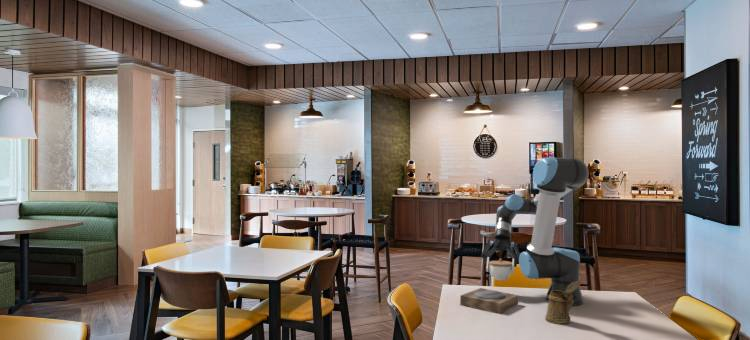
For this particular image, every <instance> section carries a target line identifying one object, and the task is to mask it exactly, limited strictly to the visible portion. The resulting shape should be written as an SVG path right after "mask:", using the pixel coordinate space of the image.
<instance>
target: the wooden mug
mask: <svg viewBox="0 0 750 340" xmlns="http://www.w3.org/2000/svg"><path fill="white" fill-rule="evenodd" d="M580 283H581V281H580V279H579V280H578V279H577V280H575V281H573V282H572V283H570V284H569V285H568V286H567V287H566V289H565V291H566V292H564V291H559V290H551V292H550V295H549V301H548V303H547V304H548V305H547V310H546V315H545V316H544V317H545V318H544V319H545V321H547V322H548V323H552V324H556V325H568V324H570V322H571V317H570V311H571V309H572V308H573V306H574V305H573V296H572V292H573V291H575V290H576V289H577V288H578V286H579V287H580V285H581V284H580ZM568 301H569V304H568Z"/></svg>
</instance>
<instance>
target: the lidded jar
mask: <svg viewBox="0 0 750 340" xmlns="http://www.w3.org/2000/svg"><path fill="white" fill-rule="evenodd" d="M488 273H489V274H490V276H491V277H492V278H493V280H496V281H507V280H508V279H509V277H511V274H512V261H508V260H502V258H499V259H498V260H497V259H495V260H489V269H488Z"/></svg>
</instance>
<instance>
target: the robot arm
mask: <svg viewBox="0 0 750 340" xmlns="http://www.w3.org/2000/svg"><path fill="white" fill-rule="evenodd" d="M589 176H590V175H589V168H588V166H587V165H586V163H585V162H584V161H582V160H581V159H579V158H576V157H554V156H550V157H541V159H539V160H538V161H537V162H536V163H535V165H534V167H533V171H532V177H533V178H532V180H533V182H534V183H535V184H536V188H537V190H539V191H538V194H537V195H535V196H534V197H533V198H523V197H522V196H521V195H518V194H516V193H513V194H510V195H509V196H508V198H507V199H506V200H505V202H504V204H503V205H500V206H498V208H497V210H496V217H495V229H494V230H495V231H494V239H493V240H491V239H487V241H486V242H487V243H486V244H485V246H484V248H483V250H482V252H481V254H480V255H481V258H482V259H484V265H486V267H485V268H486V269H485V270H486V272H487V273H489V261H490V258H491V257H492V256H493V254H494V253H495V252H497V251H498V250H499V251H501V250H502V251H506V252H507V253H508V254H509V256H510V257H511V259H512V261H511V262H512V272H511V274H513V275H514V273H515V268H517V266H518V264H519V268H520V270H521V271H520V272H521V273H522V274H523V276H524V277H525V278H527V279H529V280H530V279H531V280H538V279H539V280H540V279H542V280H543V279H550V285H549V287H548V291H547V293H546V301H548V302H549V295H550V292H551V290H559V291H564V292H566V291H565V289H566V287H567V286H568V285H569V284H570V283H572V282H573V281H575V280H577V279H578V280H579V281H580V267H581V266H580V264H581V259H580V258H581V257H580V252H578V251H576V250H572V249H567V248H564V247H563V248H561V247H552V246H553V242H554V236H555V229H556V224H557V219H558V213H559V208H560V200H561V198H562V197H564V196H566V195H567V194H569V193H571V192H572V191H575V190H578V189H580V188H581V187H582V186H584V185H585V183H586V182H587V181H588V179H589ZM517 215H535V217H534V223H533V229H532V235H531V240H530V243H529V244H526V245H527V246H526V250H525V251H522V252H521V253H520V250H519V248H518V242H517V240H514V241H511V240H512V236H511V235H512V223H513V220H514V218H515V217H516V216H517ZM511 246H512V247H513V249H514V252H513V249H511ZM491 247H492V248H491ZM489 249H490V250H489ZM517 263H518V264H517ZM582 294H583V293H582V291H581V287H580V285H579V286H578V288H577V289H576V290H575V291H573V292H572V296H573V306H581V305H583V303H584V297H583V295H582ZM568 304H569V301H568Z"/></svg>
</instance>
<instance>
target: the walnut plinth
mask: <svg viewBox="0 0 750 340" xmlns="http://www.w3.org/2000/svg"><path fill="white" fill-rule="evenodd" d="M459 301H460V302H459V303H460V306H464V307H469V308H473V309H478V310H483V311H487V312H492V313H495V314H502V313H504V312H505V311H508V310H510V309H511V308H513V307H516V306H518V305H519V295H518V294H514V293H509V292H503V291H498V290H493V289H487V288H482V287H480V288H476V289H474V290H471V291H469V292H466V293H464V294H461V295H460V300H459Z"/></svg>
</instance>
